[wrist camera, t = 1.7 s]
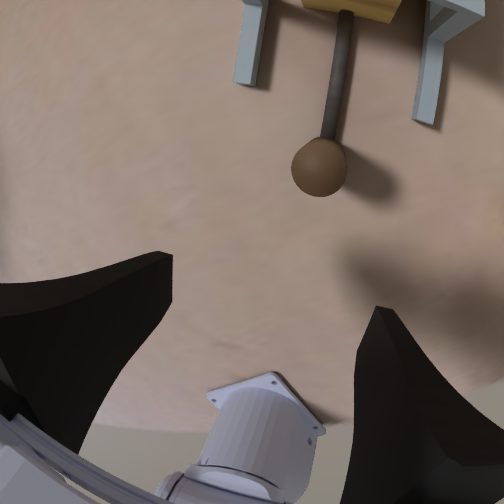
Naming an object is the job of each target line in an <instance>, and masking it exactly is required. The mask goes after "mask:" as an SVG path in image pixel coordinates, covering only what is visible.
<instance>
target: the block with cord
mask: <svg viewBox="0 0 504 504" xmlns="http://www.w3.org/2000/svg"><path fill="white" fill-rule="evenodd" d="M301 1H302V4H303V7H304V8H311V9H319V10H325V11H331V12H337V13H340V14H339V21H338V29H337V36H336V43H335V50H334V56H333V63H332V69H331V76H330V82H329V88H328V94H327V100H326V106H325V112H324V118H323V124H322V129H321V135H320V137H317V138H315V139H313V140H311V141H310V142H309V143H307V144H306V145H305V146H303V147H302V148H301V149H300V150H299V151H298V152H297V153H296V154H295V156H294V158H293V161H292V166H291V172H292V176H293V179H294V181H295V183H296V185H297V186H298V187H299V188H300V189H301V190H302V191H303V192H305V193H306V194H309V195H311V196H315V197H325V196H329V195H331V194H333V193H335V192H336V191H338V190H339V189H340V188H341V186H342V185H343V183H344V181H345V179H346V174H347V167H346V161H345V156H344V152H343V149H342V147H341V146H340V144H339V143H338V142H336V141H335V140H334V138H335V133H336V127H337V122H338V116H339V110H340V105H341V99H342V93H343V87H344V80H345V74H346V68H347V61H348V54H349V47H350V40H351V33H352V25H353V17H354V16H358V17H362V18H367V19H371V20H375V21H379V22H383V23H387V24H390V22H391V20H392V18H393V16H394V14H395V13H396V11H397V9H398V7H399V5H400V3H401V1H402V0H301Z"/></svg>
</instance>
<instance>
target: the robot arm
mask: <svg viewBox="0 0 504 504" xmlns="http://www.w3.org/2000/svg"><path fill="white" fill-rule="evenodd" d="M172 269H173V255H172V254H168V253H164V252H161V251H155V252H150V253H147V254H143V255H140V256H137V257H134V258H131V259H128V260H125V261H122V262H119V263H116V264H113V265H110V266H106V267H103V268H99V269H96V270H93V271H89V272H86V273H82V274H78V275H74V276H69V277H64V278H59V279H53V280H45V281H37V282H28V283H0V504H100V503H98V502H97V501H95V500H93V499H91V498H90V497H88V496H86V495H84V494H83V493H81V492H80V491H78V490H77V489H75V488H74V487H72V486H70V485H69V484H67V483H66V481H65V480H64V478H63V476H61V475H60V474H59V473H61V474H62V475H64V476H65V477H67V478H69V479H70V480H71V481H73V482H75V483H76V484H78V485H79V486H81V487H83V488H84V489H86V490H88V491H89V492H91V493H93V494H94V495H96V496H98V497H100V498H102V499H103V500H105V501H107V502H109V503H111V504H293V503H295V502H296V501H297V500H298V499H299V498H300V497H301V496H302V495H303V493H304V492H305V490H306V488H307V487H308V484H309V480H310V475H311V470H312V465H313V459H314V454H315V448H316V442H317V436H321V435H324V434H325V433H326V429H325V428H324V427H323V426H322V425H321V423H320V422H319V421H318V420H317V419H316V418H315V417H314V416H313V415H312V414H311V413H310V411H309V410H308V409H307V408H306V407H305V406H304V405H303V404H302V403H301V401H300V400H299V399H298V398H297V397H296V396H295V395H294V394H293V393H292V391H291V390H290V389H289V388H288V387H287V386H286V385H285V383H284V382H283V381H282V380H281V379H280V378H279V377H278V375H277V374H275V373H273V372H269V373H266V374H263V375H260V376H257V377H254V378H251V379H248V380H245V381H242V382H238V383H235V384H232V385H229V386H226V387H222V388H219V389H215V390H212V391H209V392H207V394H206V397H207V398H208V399H209V400H210V401H211V402H212V403H213V404H214V405H215V406H216V407H217V408H218V409H219V410H220V412H219V414H218V416H217V418H216V420H215V423H214V425H213V427H212V429H211V431H210V434H209V436H208V438H207V440H206V442H205V445H204V447H203V449H202V451H201V453H200V455H199V458H198V460H197V462H196V464H195V465H193V464H189V466H188V468H187V470H186V472H185V473H182V472H180V471H177V472H174V473H173V474H171V475H168V476H167V477H165V478H164V479H163V481H162V482H161V483H160V485H159V486H158V488H157V489H156V491H155V493H154V495H153V494H151V493H149V492H146V491H144V490H142V489H140V488H138V487H136V486H134V485H132V484H129V483H127V482H125V481H123V480H121V479H120V478H118V477H116V476H114V475H112V474H110V473H108V472H106V471H104V470H103V469H101V468H99V467H97V466H95V465H94V464H92V463H90V462H89V461H87V460H85V459H84V458H82V457H80V456H78V454H79V451H80V448H81V446H82V444H83V441H84V439H85V437H86V434H87V432H88V430H89V428H90V426H91V423H92V421H93V419H94V417H95V415H96V413H97V411H98V409H99V407H100V406H101V404H102V402H103V400H104V398H105V397H106V395H107V393H108V391H109V390H110V388H111V386H112V385H113V383H114V381H115V380H116V378H117V377H118V375H119V373H120V372H121V370H122V369H123V368H124V366H125V365H126V363H127V362H128V361H129V360H130V358H131V357H132V356H133V355H134V354H135V352H136V351H137V350H138V349H139V347H140V346H141V345H142V344H143V343H144V341H145V340H146V339H147V338H148V337H149V335H150V334H151V333H152V332H153V330H154V329H155V328H156V327H157V325H158V324H159V323H160V321H161V320H162V318H163V317H164V315H165V313H166V312H167V310H168V308H169V307H170V305H171V303H172ZM274 381H276V382H274ZM50 466H51V467H50ZM53 468H54V469H55V470H57V471H58V472H59V473H58V472H56V471H55V470H54V469H53ZM503 497H504V430H503V429H502V428H500V427H499V426H497V425H496V424H495V423H493V422H492V421H491V420H489V419H488V418H487V417H485V416H484V415H483V414H482V413H480V412H479V411H478V410H477V409H476V408H475V407H473V406H472V405H471V404H470V403H469V402H468V401H467V400H466V399H465V398H463V397H462V396H461V395H460V394H459V393H458V392H457V391H456V390H455V389H454V388H453V386H452V385H451V384H450V383H449V382H448V381H447V380H446V379H445V378H444V377H443V376H442V374H441V373H440V372H439V371H438V370H437V369H436V367H435V366H434V365H433V364H432V362H431V361H430V360H429V358H428V357H427V356H426V355H425V353H424V352H423V351H422V349H421V348H420V346H419V345H418V344H417V342H416V341H415V340H414V338H413V337H412V335H411V334H410V332H409V331H408V330H407V328H406V327H405V325H404V324H403V322H402V321H401V320H400V318H399V317H398V315H397V314H396V313H395V312H394V310H393V309H389V308H384V307H380V306H376V307H375V310H374V312H373V315H372V317H371V319H370V322H369V324H368V327H367V329H366V331H365V334H364V336H363V338H362V341H361V343H360V345H359V347H358V350H357V355H356V363H355V372H354V433H353V444H352V450H351V456H350V462H349V467H348V472H347V476H346V481H345V486H344V490H343V494H342V498H341V502H340V504H495V503H496V502H498V501H499V500H501V499H502V498H503Z"/></svg>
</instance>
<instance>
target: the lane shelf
mask: <svg viewBox="0 0 504 504" xmlns="http://www.w3.org/2000/svg"><path fill="white" fill-rule="evenodd" d="M242 1H243V2H244V3H245V9H244V15H243V21H242V27H241V33H240V39H239V45H238V52H237V58H236V65H235V71H234V78H233V83H237V84H241V85H251V86H256V79H257V73H258V66H259V60H260V53H261V47H262V41H263V34H264V28H265V22H266V16H267V9H268V3H269V0H242ZM484 17H485V0H426V11H425V25H424V36H423V46H422V55H421V63H420V71H419V78H418V85H417V91H416V97H415V103H414V109H413V115H412V119H413V120H416V121H419V122H422V123H425V124H431V125H433V122H434V117H435V111H436V106H437V100H438V93H439V87H440V79H441V72H442V64H443V54H444V44H445V42H447V41H448V40H450V39H451V38H453V37H454V36H456V35H457V34H459V33H460V32H462V31H463V30H465V29H467V28H468V27H470V26H471V25H473V24H474V23H476V22H478V21H479V20H481V19H482V18H484Z"/></svg>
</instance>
